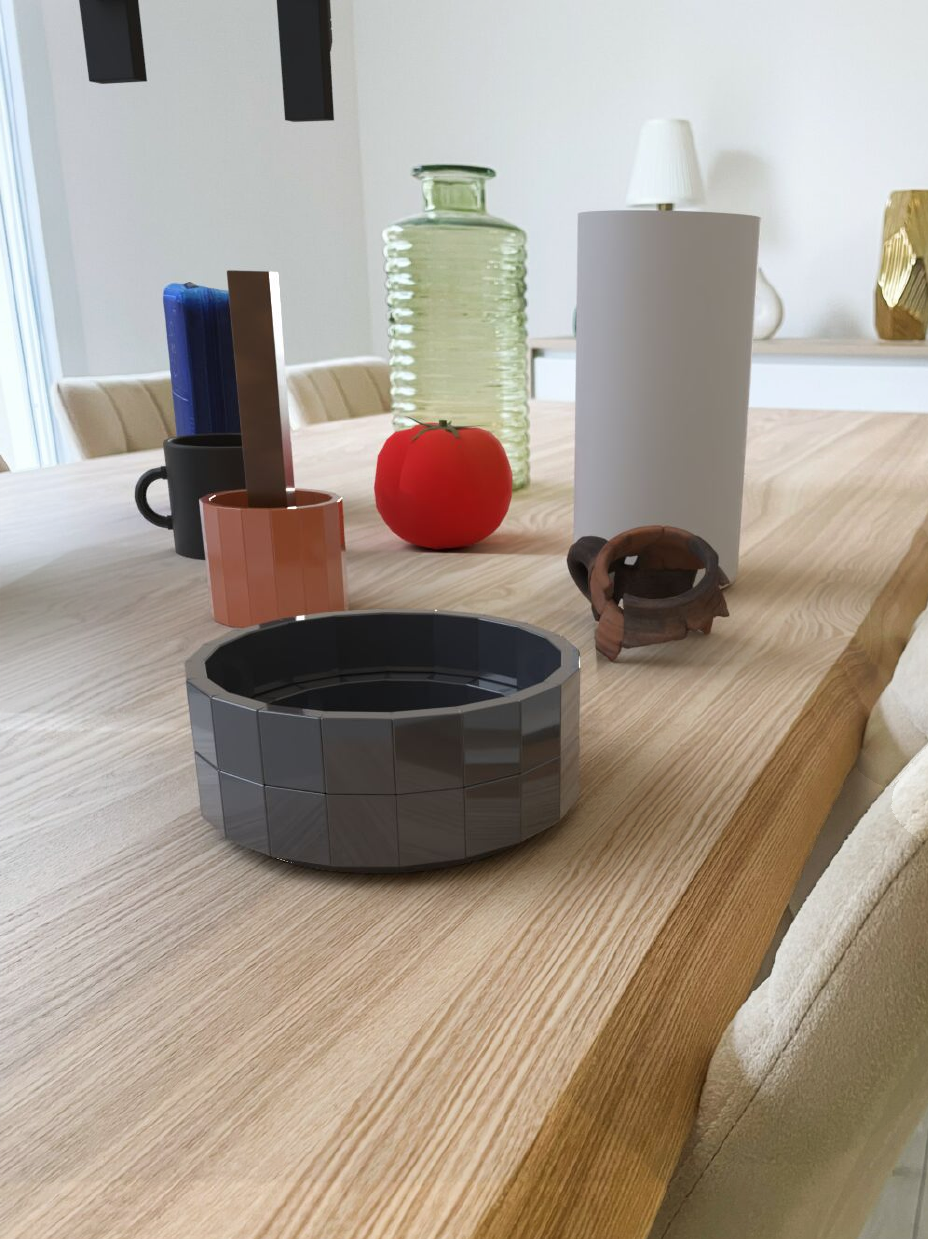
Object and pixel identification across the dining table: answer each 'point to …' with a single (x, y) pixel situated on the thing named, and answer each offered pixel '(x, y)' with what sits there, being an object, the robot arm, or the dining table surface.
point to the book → (201, 359)
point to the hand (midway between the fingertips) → (222, 104)
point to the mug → (193, 483)
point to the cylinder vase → (664, 373)
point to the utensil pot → (274, 557)
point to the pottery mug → (648, 586)
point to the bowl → (385, 736)
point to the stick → (261, 387)
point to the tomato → (443, 484)
